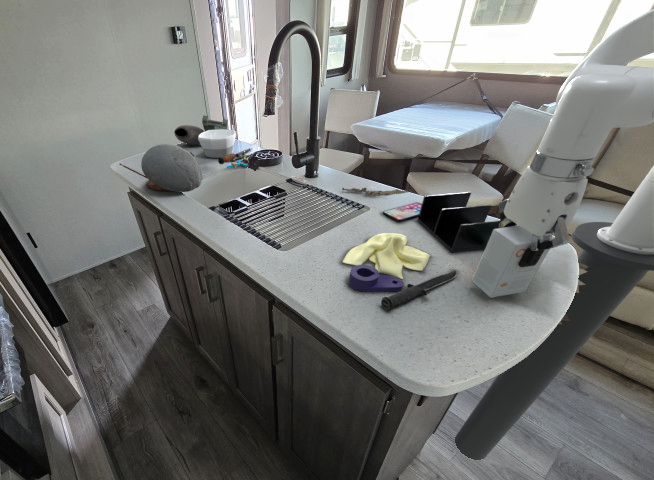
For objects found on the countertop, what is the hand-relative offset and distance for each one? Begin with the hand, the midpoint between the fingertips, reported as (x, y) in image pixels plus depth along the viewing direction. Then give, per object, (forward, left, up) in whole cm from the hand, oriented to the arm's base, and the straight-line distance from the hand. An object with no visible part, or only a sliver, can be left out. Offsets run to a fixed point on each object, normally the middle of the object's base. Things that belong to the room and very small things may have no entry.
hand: (513, 254), depth 65 cm
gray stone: (+74, -80, +4) cm, 109 cm away
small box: (0, 0, -8) cm, 8 cm away
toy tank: (+59, -148, 0) cm, 160 cm away
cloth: (+17, -18, -10) cm, 27 cm away
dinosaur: (+43, -108, -6) cm, 117 cm away
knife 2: (+14, -4, -10) cm, 18 cm away
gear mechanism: (+44, -97, -7) cm, 107 cm away
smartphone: (0, -41, -10) cm, 42 cm away
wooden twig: (+3, -59, -8) cm, 60 cm away
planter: (+77, -137, -3) cm, 158 cm away
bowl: (+58, -120, -10) cm, 134 cm away
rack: (-7, -26, -10) cm, 29 cm away
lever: (+24, -7, -10) cm, 27 cm away
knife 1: (+52, -116, -9) cm, 127 cm away
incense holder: (+82, -86, -10) cm, 119 cm away
